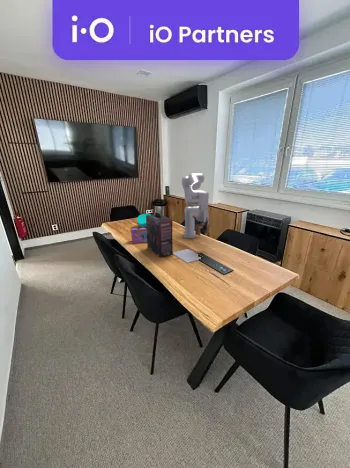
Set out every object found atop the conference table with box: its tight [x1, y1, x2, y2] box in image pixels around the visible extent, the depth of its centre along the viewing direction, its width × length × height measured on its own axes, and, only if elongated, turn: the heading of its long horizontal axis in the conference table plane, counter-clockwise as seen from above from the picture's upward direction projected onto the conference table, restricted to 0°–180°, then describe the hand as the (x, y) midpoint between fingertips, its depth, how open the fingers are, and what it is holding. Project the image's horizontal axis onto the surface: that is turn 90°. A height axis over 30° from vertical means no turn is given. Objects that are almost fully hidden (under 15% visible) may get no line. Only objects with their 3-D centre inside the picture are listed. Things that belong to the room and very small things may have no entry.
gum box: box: [129, 226, 147, 244], centre depth 193 cm, size 24×8×14 cm, turn 105°
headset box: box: [146, 211, 174, 258], centre depth 168 cm, size 25×12×33 cm, turn 32°
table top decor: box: [136, 213, 152, 227], centre depth 230 cm, size 40×28×13 cm
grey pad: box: [172, 248, 202, 264], centre depth 164 cm, size 21×16×1 cm
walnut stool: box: [194, 222, 210, 236], centre depth 169 cm, size 6×11×8 cm, turn 124°
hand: (202, 228), depth 169 cm, fingers closed on walnut stool, 5 cm apart
